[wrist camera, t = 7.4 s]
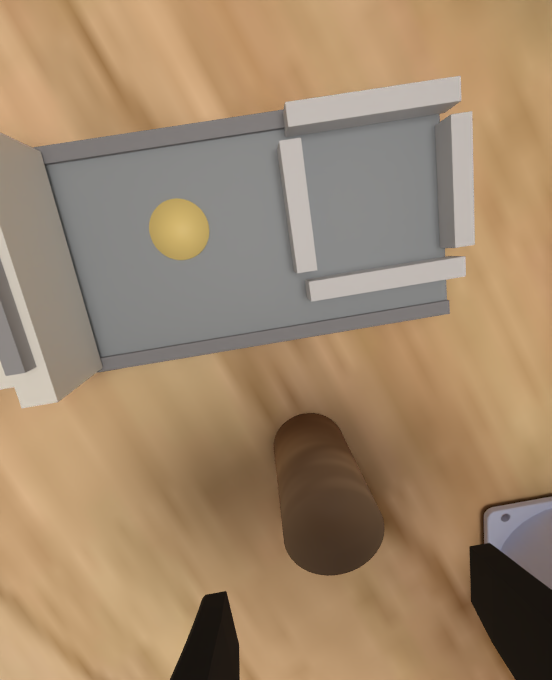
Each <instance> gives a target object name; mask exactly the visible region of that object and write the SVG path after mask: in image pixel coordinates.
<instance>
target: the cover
mask: <svg viewBox="0 0 552 680" xmlns="http://www.w3.org/2000/svg"><path fill="white" fill-rule="evenodd" d="M102 368H103V367H102V363H101V360H100V356H99V353H98V350H97V346H96V343H95V339H94V336H93V332H92V329H91V325H90V322H89V318H88V315H87V311H86V308H85V304H84V301H83V297H82V294H81V290H80V287H79V284H78V280H77V277H76V273H75V270H74V266H73V263H72V259H71V256H70V252H69V249H68V245H67V242H66V238H65V235H64V231H63V228H62V224H61V221H60V217H59V214H58V211H57V207H56V204H55V200H54V197H53V193H52V190H51V186H50V183H49V179H48V176H47V172H46V169H45V165H44V162H43V158H42V155H41V152H40V151H38V150H36V149H34V148H32V147H30V146H28V145H26V144H24V143H22V142H19V141H17V140H15V139H13V138H11V137H9V136H7V135H5V134H3V133H0V389H6V388H12V387H14V388H15V391H16V393H17V396H18V399H19V402H20V405H21V407H22V408H26V407H32V406H38V405H44V404H50V403H56V402H59V401H60V400H61V399H63V398H64V397H65V396H67V395H68V394H69V393H70V392H72V391H73V390H74V389H76V388H77V387H78V386H80V385H81V384H82V383H83V382H85V381H86V380H87V379H89V378H90V377H91V376H92V375H94V374H95V373H96V372H98V371H99V370H100V369H102Z"/></svg>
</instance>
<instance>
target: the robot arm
mask: <svg viewBox="0 0 552 680" xmlns="http://www.w3.org/2000/svg"><path fill="white" fill-rule="evenodd" d="M503 514H504V515H503ZM502 515H503V516H502ZM470 578H471V602H472V604H473V606H474V608H475V610H476V612H477V614H478V616H479V618H480V620H481V622H482V624H483V626H484V628H485V630H486V631H487V633H488V635H489V637H490V639H491V641H492V643H493V645H494V646H495V648H496V649H497V651H498V653H499V654H500V656H501V657H502V659H503V660H504V662H505V664H506V665H507V667H508V668H509V670H510V671H511V673H512V675H513V676H514V678H515V679H516V680H552V497H546V498H540V499H535V500H529V501H524V502H518V503H513V504H507V505H502V506H496V507H491V508H489V509H487V510H486V512H485V513H484V544H480V545H475V546H470ZM170 680H239V643H238V638H237V634H236V630H235V626H234V622H233V617H232V613H231V609H230V605H229V601H228V596H227V592H226V591H224V592H219V593H214V594H208V595H205V596H204V597H203V599H202V601H201V604H200V607H199V610H198V613H197V615H196V618H195V621H194V623H193V626H192V629H191V631H190V634H189V636H188V639H187V641H186V644H185V646H184V648H183V651H182V653H181V656H180V658H179V660H178V662H177V665H176V667H175V669H174V672H173V674H172V676H171V678H170Z"/></svg>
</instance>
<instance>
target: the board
mask: <svg viewBox="0 0 552 680" xmlns="http://www.w3.org/2000/svg"><path fill="white" fill-rule="evenodd" d="M460 101H461V76H456V77H449V78H443V79H436V80H429V81H423V82H416V83H409V84H403V85H396V86H389V87H383V88H376V89H370V90H363V91H356V92H350V93H343V94H336V95H330V96H323V97H316V98H310V99H303V100H297V101H290V102H285V105H284V110H278V111H271V112H265V113H258V114H252V115H245V116H238V117H232V118H225V119H219V120H212V121H205V122H199V123H192V124H185V125H179V126H172V127H166V128H159V129H152V130H146V131H139V132H133V133H126V134H119V135H113V136H106V137H99V138H93V139H86V140H80V141H73V142H66V143H60V144H53V145H47V146H40V147H33V148H34V149H36V150H38V151H40V152H41V155H42V158H43V162H44V165H45V169H46V172H47V176H48V179H49V183H50V186H51V190H52V193H53V197H54V200H55V204H56V207H57V211H58V214H59V217H60V221H61V224H62V228H63V231H64V235H65V238H66V242H67V245H68V249H69V252H70V256H71V259H72V263H73V266H74V270H75V273H76V277H77V280H78V284H79V287H80V290H81V294H82V297H83V301H84V304H85V308H86V311H87V315H88V318H89V322H90V325H91V329H92V332H93V336H94V339H95V343H96V346H97V350H98V353H99V356H100V360H101V363H102V367H103V368H102V369H100V370H99V371H98V372H103V371H109V370H115V369H121V368H127V367H133V366H139V365H145V364H151V363H157V362H163V361H169V360H175V359H181V358H187V357H193V356H199V355H205V354H211V353H217V352H223V351H229V350H235V349H241V348H247V347H253V346H259V345H265V344H271V343H277V342H283V341H289V340H295V339H301V338H307V337H313V336H319V335H325V334H331V333H337V332H343V331H349V330H355V329H361V328H367V327H373V326H379V325H385V324H391V323H396V322H402V321H408V320H414V319H420V318H426V317H432V316H438V315H444V314H450V310H449V300H447V293H446V279H452V278H458V277H464V276H466V263H465V256H447V257H445V248H457V247H463V246H469V245H475V230H474V180H473V129H472V111H470V112H464V113H457V114H451V115H449V116H448V117H447V118H445V119H444V120H442V121H441V122H440V116H439V114H441V113H445V112H446V111H448V110H449V109H450V108H452V107H453V106H455V105H456V104H457V103H459V102H460ZM96 373H97V372H96Z"/></svg>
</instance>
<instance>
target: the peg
mask: <svg viewBox="0 0 552 680" xmlns="http://www.w3.org/2000/svg"><path fill="white" fill-rule="evenodd" d="M274 454H275V463H276V472H277V481H278V490H279V499H280V508H281V517H282V527H283V536H284V544H285V547H286V550H287V552H288V554H289V556H290V557H291V559H292V560H293V561H294V562H295V563H296V564H297V565H298V566H300V567H301V568H303V569H305V570H307V571H309V572H312V573H315V574H319V575H339V574H344V573H348V572H350V571H353V570H355V569H357V568H359V567H361V566H362V565H364V564H365V563H366V562H368V561H369V560H370V559H371V558H372V557H373V556H374V554H375V553H376V552H377V550H378V549H379V547H380V545H381V543H382V540H383V536H384V521H383V517H382V514H381V512H380V510H379V508H378V506H377V504H376V502H375V500H374V498H373V496H372V494H371V492H370V490H369V488H368V486H367V484H366V482H365V480H364V478H363V476H362V473H361V471H360V469H359V467H358V465H357V463H356V461H355V459H354V457H353V455H352V453H351V451H350V449H349V447H348V445H347V443H346V441H345V439H344V437H343V435H342V433H341V431H340V429H339V427H338V426H337V425H336V424H335V423H334V422H333V421H332V420H331V419H329V418H328V417H326V416H323V415H320V414H315V413H307V414H301V415H298V416H295V417H293V418H291V419H290V420H288V421H287V422H286V423H284V424H283V425H282V427H281V428H280V429H279V431H278V432H277V435H276V437H275V441H274Z"/></svg>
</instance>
